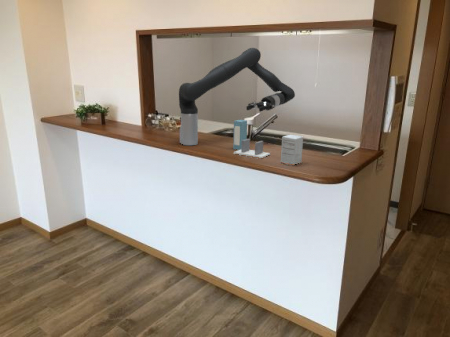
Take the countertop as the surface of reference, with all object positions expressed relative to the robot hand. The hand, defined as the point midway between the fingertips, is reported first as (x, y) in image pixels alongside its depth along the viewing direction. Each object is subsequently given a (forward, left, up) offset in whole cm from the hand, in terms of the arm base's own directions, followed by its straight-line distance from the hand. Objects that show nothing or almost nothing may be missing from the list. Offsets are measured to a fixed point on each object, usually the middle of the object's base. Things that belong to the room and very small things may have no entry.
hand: (253, 109), depth 198 cm
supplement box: (+32, -19, -21) cm, 42 cm away
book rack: (+10, -17, -21) cm, 28 cm away
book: (-2, -9, -21) cm, 22 cm away
